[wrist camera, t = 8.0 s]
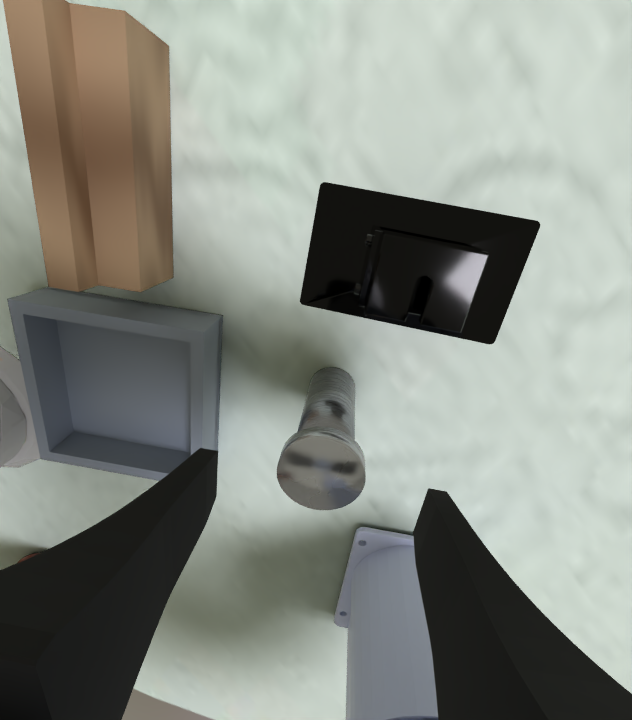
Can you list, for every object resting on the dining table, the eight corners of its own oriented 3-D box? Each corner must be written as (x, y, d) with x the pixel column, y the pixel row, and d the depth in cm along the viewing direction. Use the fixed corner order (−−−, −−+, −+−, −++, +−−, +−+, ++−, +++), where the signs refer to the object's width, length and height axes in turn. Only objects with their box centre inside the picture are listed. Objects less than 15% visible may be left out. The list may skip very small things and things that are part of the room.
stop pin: (356, 418, 20) (356, 517, 14) (298, 408, 20) (273, 501, 14) (368, 365, 19) (373, 448, 13) (306, 355, 19) (281, 432, 13)
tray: (217, 458, 22) (201, 488, 20) (72, 432, 23) (40, 458, 20) (222, 315, 19) (203, 332, 16) (49, 286, 19) (7, 299, 17)
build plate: (268, 309, 19) (241, 341, 15) (290, 147, 16) (264, 129, 12) (511, 359, 19) (556, 407, 14) (580, 202, 16) (661, 204, 11)
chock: (173, 277, 18) (123, 299, 14) (113, 267, 18) (48, 287, 14) (168, 45, 14) (100, -9, 11) (93, 34, 15) (-1, -23, 11)
